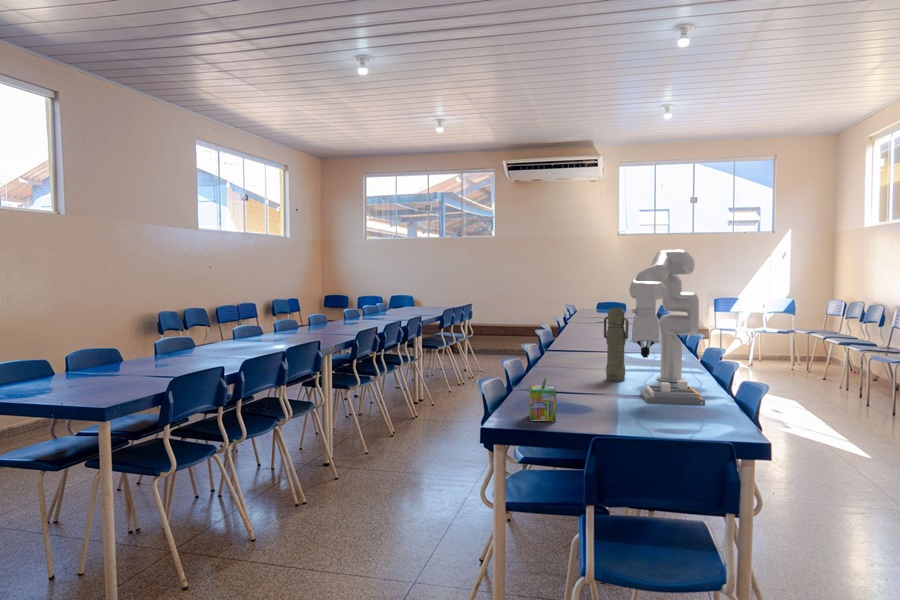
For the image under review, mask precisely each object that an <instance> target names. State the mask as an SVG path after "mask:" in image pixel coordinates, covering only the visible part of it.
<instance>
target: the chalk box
mask: <svg viewBox="0 0 900 600" xmlns="http://www.w3.org/2000/svg"><path fill="white" fill-rule="evenodd" d="M546 382H547V378H546V377H544V379H543V381H542V384H529V395H528V396H529V397H528V398H529V400H528V403H529V404H528V405H529V406H528V417H529V416H530V417H529V421H530V420H545V421H546V420H547V421H556V422H557V420H556V419H557V418H556V417H557V416H556V410H557V409H556V407H557V390H556V387H555V385H546Z"/></svg>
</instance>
